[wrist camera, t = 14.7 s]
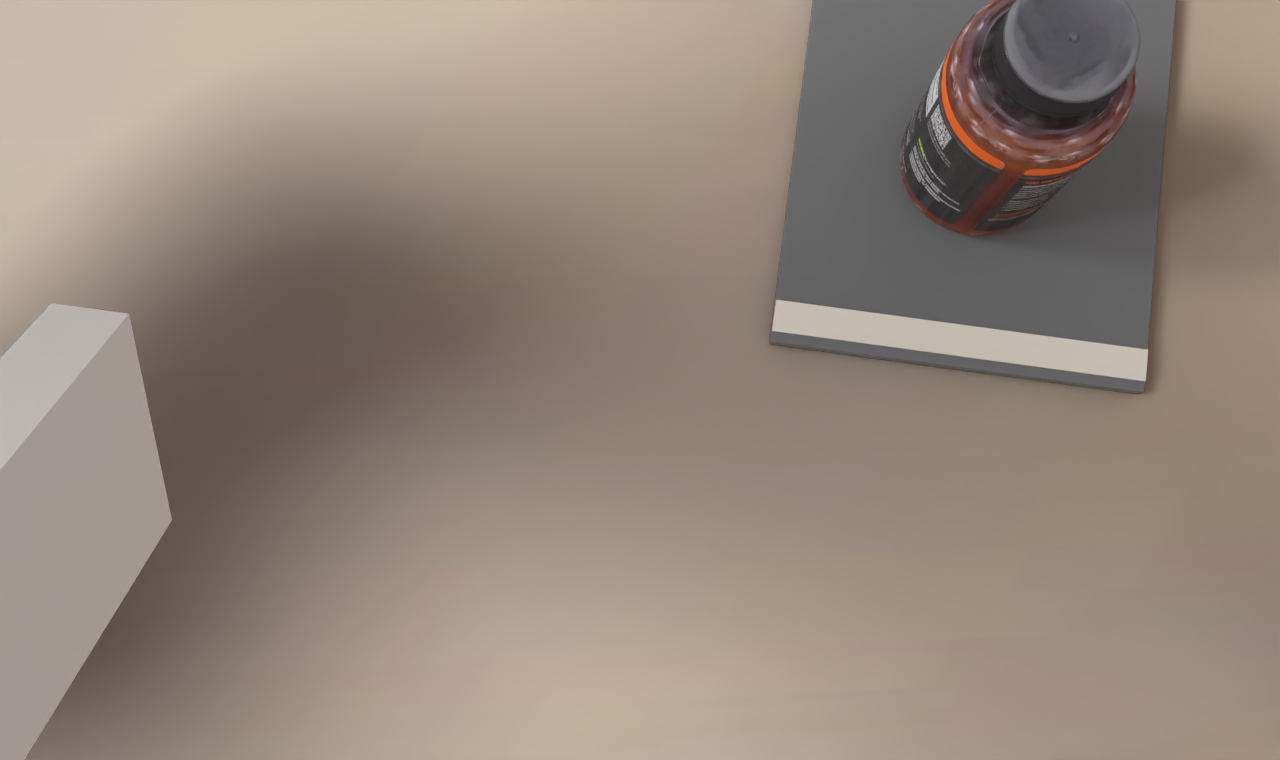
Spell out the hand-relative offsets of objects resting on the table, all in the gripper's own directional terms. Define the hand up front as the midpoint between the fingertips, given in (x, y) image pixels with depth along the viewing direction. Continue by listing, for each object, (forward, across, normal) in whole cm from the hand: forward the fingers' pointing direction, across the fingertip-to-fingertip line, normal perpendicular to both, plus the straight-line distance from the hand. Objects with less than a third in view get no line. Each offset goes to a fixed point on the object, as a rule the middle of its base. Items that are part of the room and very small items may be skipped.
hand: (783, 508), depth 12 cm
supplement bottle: (+34, +9, -12) cm, 37 cm away
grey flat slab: (+34, +9, -12) cm, 37 cm away
